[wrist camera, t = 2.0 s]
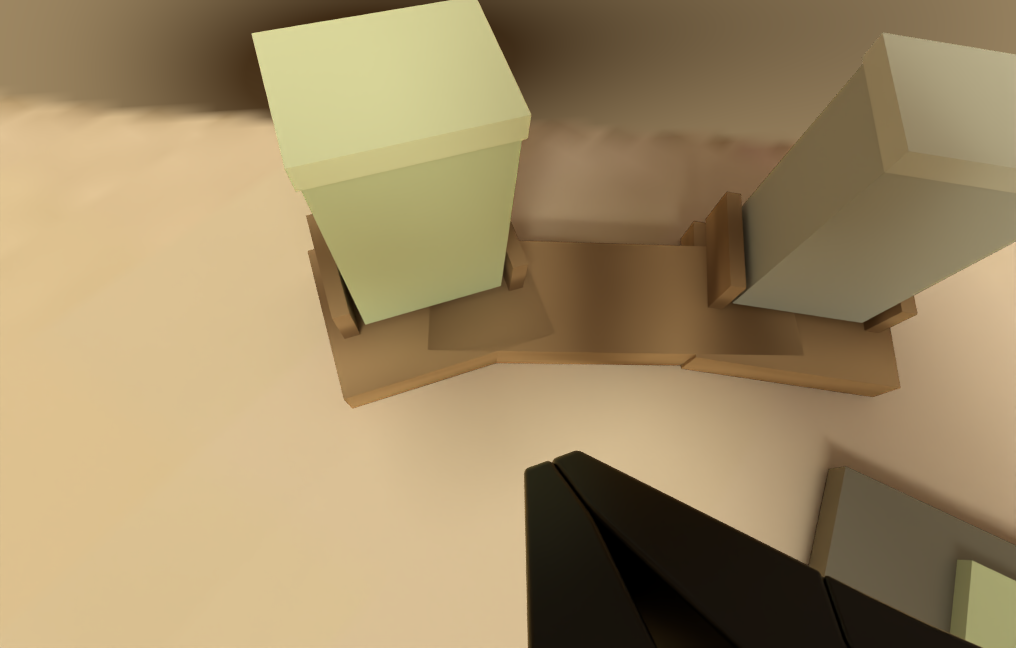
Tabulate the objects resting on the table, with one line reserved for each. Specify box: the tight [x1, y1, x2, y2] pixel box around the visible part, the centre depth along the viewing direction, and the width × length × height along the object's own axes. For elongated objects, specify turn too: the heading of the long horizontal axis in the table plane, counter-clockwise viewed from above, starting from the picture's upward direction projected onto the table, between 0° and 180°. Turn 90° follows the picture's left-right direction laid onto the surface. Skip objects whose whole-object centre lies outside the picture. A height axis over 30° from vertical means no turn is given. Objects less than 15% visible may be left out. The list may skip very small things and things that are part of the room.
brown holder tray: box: [306, 192, 917, 408], centre depth 21 cm, size 25×9×4 cm, turn 92°
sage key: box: [252, 0, 531, 325], centre depth 16 cm, size 4×6×9 cm
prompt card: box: [809, 466, 1016, 648], centre depth 18 cm, size 10×7×2 cm
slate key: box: [732, 33, 1016, 323], centre depth 18 cm, size 4×6×9 cm
